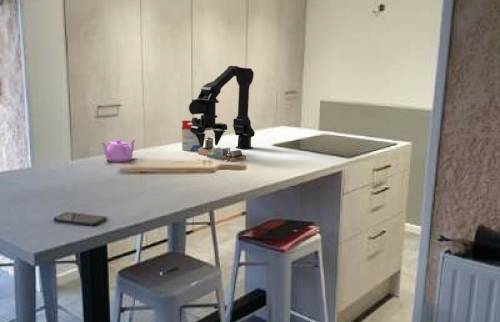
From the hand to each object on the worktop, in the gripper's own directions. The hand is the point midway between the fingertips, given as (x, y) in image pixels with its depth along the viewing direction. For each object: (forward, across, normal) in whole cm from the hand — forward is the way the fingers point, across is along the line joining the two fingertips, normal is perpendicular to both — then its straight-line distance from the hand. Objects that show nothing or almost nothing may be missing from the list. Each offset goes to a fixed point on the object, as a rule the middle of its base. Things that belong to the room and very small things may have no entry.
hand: (209, 146), depth 249 cm
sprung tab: (+2, 0, +11) cm, 11 cm away
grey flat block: (+4, 0, +8) cm, 9 cm away
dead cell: (+3, 0, 0) cm, 3 cm away
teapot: (+4, +38, -16) cm, 42 cm away
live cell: (+4, 0, +16) cm, 17 cm away
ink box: (+4, -1, -14) cm, 14 cm away
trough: (+4, 0, +16) cm, 17 cm away
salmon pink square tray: (+4, 0, 0) cm, 4 cm away
